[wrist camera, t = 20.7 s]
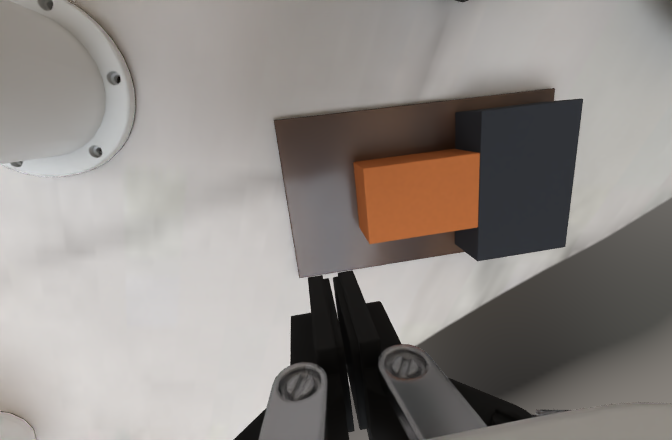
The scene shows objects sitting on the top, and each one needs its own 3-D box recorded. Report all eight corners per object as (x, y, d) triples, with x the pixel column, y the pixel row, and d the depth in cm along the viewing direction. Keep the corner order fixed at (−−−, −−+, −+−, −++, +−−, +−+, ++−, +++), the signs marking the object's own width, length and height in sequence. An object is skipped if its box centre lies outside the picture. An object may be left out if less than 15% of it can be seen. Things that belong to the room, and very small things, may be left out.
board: (299, 275, 30) (299, 278, 29) (274, 120, 26) (273, 120, 25) (536, 237, 32) (540, 239, 31) (549, 88, 28) (555, 88, 27)
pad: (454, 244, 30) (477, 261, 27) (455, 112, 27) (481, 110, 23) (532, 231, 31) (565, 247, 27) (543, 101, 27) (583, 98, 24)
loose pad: (359, 228, 29) (369, 244, 25) (352, 161, 27) (362, 168, 23) (454, 214, 29) (478, 227, 26) (454, 148, 28) (480, 152, 24)
